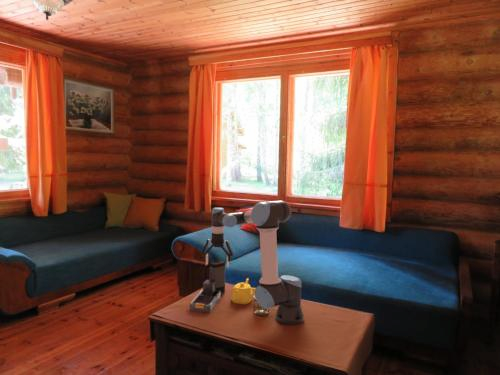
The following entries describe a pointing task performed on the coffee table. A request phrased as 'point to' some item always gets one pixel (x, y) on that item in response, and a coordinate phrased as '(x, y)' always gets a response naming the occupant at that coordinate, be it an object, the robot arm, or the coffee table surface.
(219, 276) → the electronic device
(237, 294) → the teapot
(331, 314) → the coffee table surface
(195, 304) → the rack
